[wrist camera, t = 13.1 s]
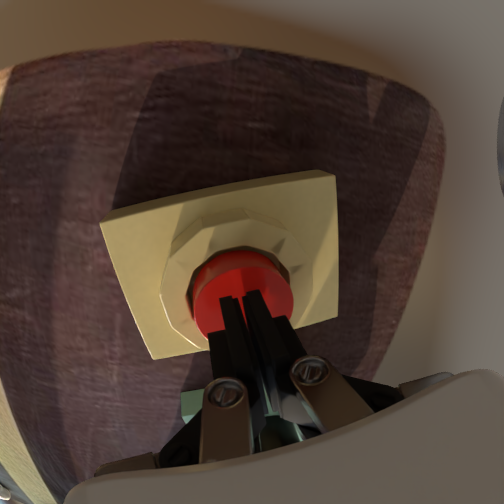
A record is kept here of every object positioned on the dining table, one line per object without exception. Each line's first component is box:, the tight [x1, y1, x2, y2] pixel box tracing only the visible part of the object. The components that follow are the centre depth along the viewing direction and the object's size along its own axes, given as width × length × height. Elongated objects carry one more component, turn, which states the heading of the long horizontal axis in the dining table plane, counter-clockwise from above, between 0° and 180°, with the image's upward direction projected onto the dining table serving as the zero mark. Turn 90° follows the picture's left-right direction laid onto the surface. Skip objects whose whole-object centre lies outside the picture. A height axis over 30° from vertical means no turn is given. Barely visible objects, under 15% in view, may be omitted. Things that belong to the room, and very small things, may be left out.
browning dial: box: [259, 415, 301, 452], centre depth 19 cm, size 5×5×5 cm
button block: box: [100, 169, 339, 359], centre depth 15 cm, size 12×9×4 cm
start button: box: [193, 250, 294, 340], centre depth 13 cm, size 4×4×2 cm
